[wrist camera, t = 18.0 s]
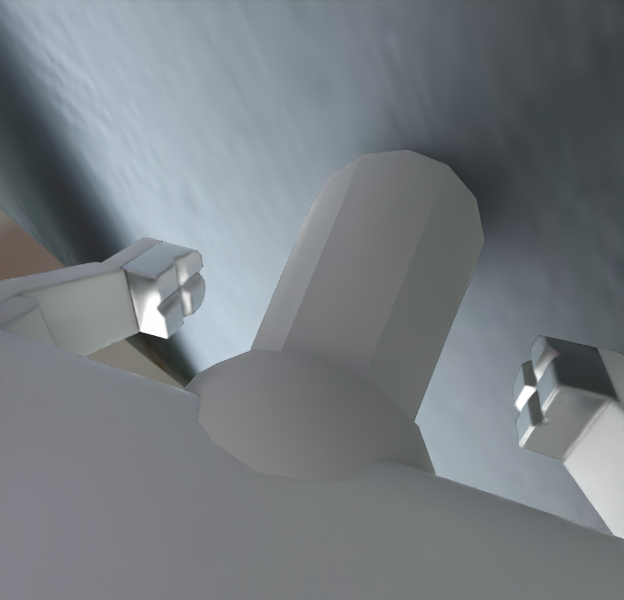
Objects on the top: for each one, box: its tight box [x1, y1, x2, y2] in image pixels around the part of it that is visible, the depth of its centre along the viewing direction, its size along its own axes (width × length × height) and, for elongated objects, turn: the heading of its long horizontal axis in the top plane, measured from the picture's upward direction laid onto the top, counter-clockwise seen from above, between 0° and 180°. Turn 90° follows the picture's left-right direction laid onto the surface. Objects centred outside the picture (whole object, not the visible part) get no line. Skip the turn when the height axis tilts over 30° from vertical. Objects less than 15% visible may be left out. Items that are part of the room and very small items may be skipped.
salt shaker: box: [183, 150, 485, 483], centre depth 10 cm, size 6×6×13 cm
